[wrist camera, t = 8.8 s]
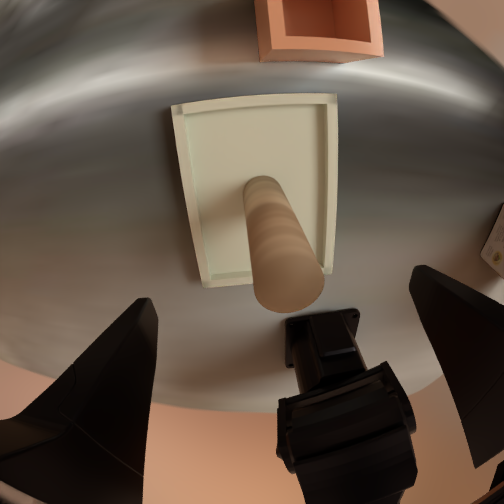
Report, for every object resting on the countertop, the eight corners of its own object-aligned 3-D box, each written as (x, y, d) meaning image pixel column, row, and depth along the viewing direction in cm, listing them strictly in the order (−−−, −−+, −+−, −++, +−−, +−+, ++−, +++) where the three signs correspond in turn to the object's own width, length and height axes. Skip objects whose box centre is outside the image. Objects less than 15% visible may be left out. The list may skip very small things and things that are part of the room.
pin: (282, 210, 18) (321, 308, 10) (244, 214, 18) (256, 316, 10) (281, 173, 17) (326, 252, 9) (240, 177, 17) (251, 260, 9)
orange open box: (343, 63, 14) (383, 56, 10) (259, 62, 14) (271, 49, 9) (336, -8, 11) (371, -34, 7) (252, -12, 11) (261, -46, 7)
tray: (327, 264, 21) (332, 274, 20) (204, 278, 21) (203, 288, 20) (329, 93, 15) (336, 93, 14) (174, 105, 15) (170, 105, 14)
